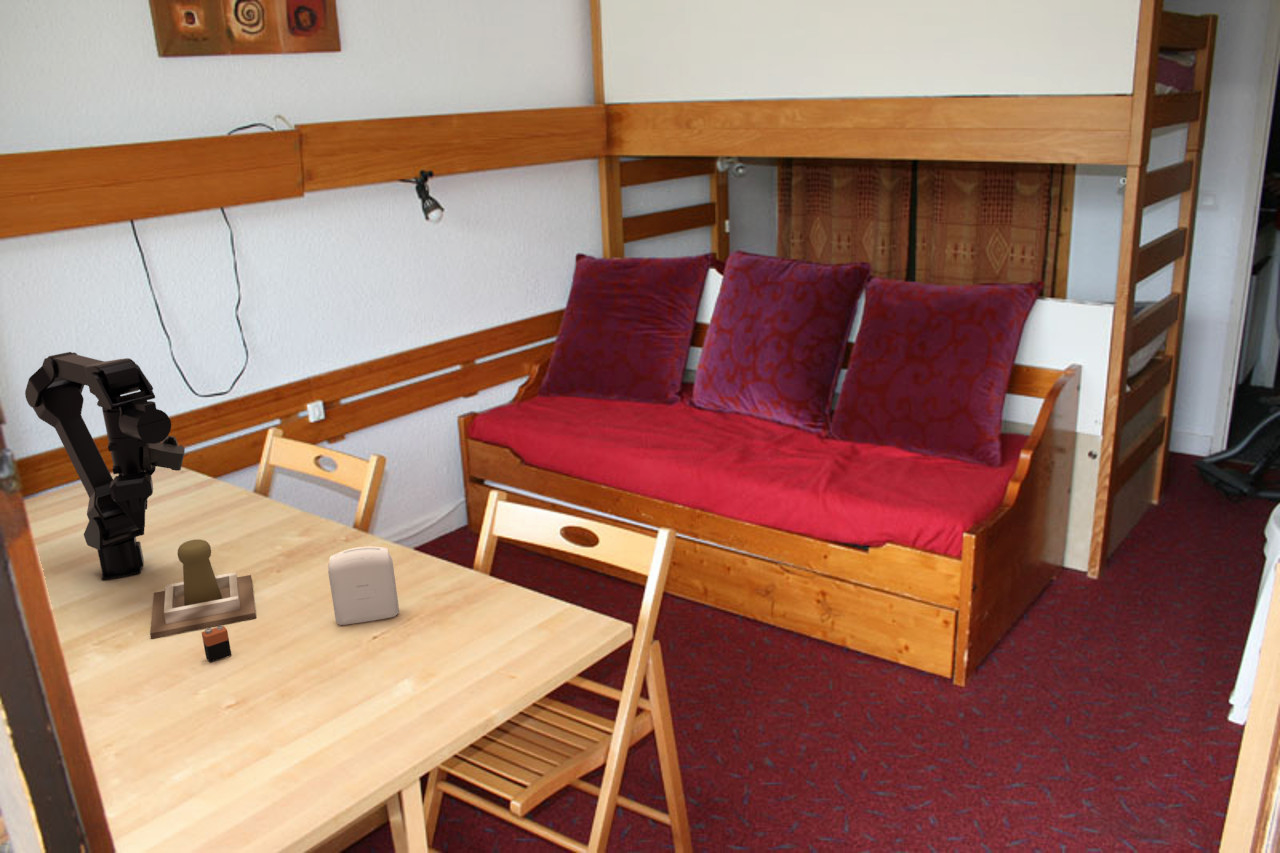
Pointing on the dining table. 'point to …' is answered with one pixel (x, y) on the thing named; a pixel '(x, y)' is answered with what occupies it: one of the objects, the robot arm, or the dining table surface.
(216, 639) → the battery
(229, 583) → the socket board
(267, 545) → the dining table surface
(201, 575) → the cork
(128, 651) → the dining table surface
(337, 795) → the dining table surface
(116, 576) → the robot arm
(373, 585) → the photo printer
